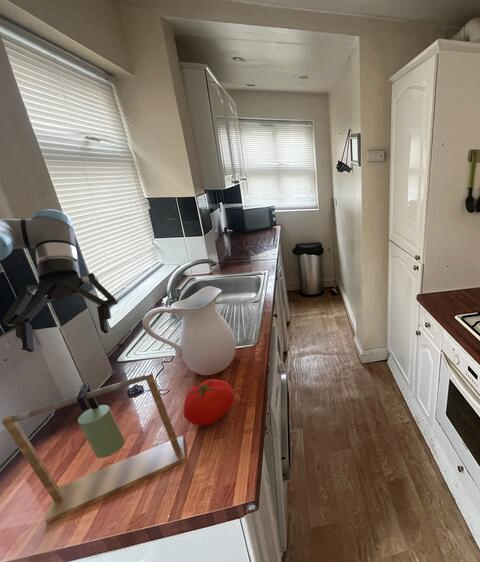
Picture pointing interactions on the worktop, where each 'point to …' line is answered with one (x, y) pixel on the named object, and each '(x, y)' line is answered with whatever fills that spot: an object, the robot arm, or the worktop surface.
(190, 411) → the tomato
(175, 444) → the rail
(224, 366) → the pitcher
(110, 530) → the worktop surface
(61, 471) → the worktop surface
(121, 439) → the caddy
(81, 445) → the worktop surface
